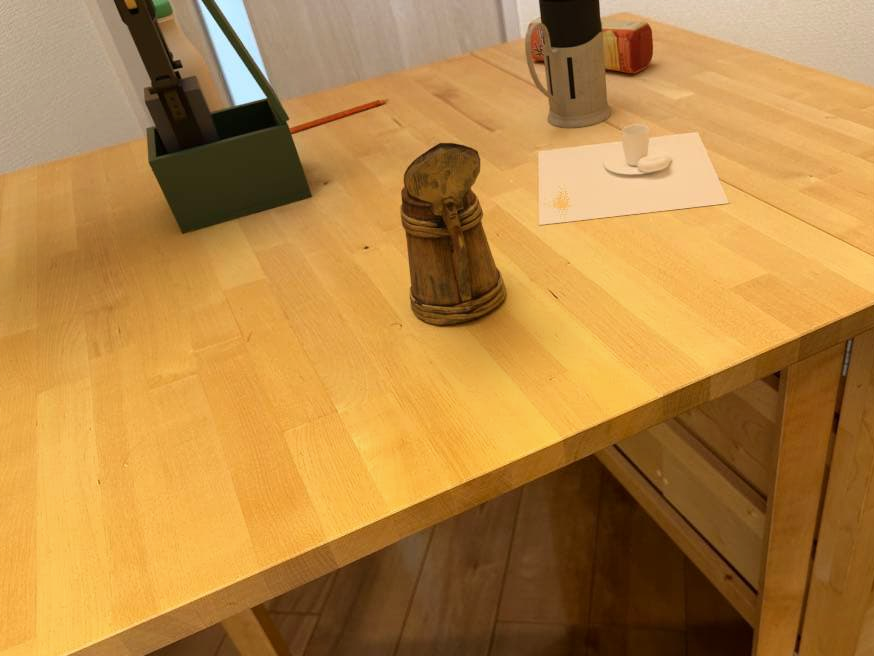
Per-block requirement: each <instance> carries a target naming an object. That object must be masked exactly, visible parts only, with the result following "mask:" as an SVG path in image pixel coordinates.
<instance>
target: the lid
mask: <svg viewBox="0 0 874 656" xmlns="http://www.w3.org/2000/svg"><path fill="white" fill-rule="evenodd" d="M200 1H201V2H202V4H203V5H204V7H205V8H206V10H207V11H208V12H209V14H210V16H211V17H212V18H213V20H214V21H215V23H216V25H217V26H218V27H219V29H220V30H221V32H222V33H223V35H224V36H225V39H227V41H228V42H229V44H230V46H231V47H232V48H233V49H234V51H235V53H236V55H238V57H239V58H240V60H241V61H242V63H243V64H244V66H245V68H246V69H247V70H248V72H249V73H250V75H251V76H252V78H253V79H254V81H255V83H256V84H257V85H258V87H259V88H260V89H261V91H262V93H263V94H264V96H265V98H268V100H269V101H270V103H271V104H272V106H273V107H274V109H275V110H276V112H277V113H278V115H279V116H280V118H281V119H282V121H283V122H288V121H290V117H289V115H288V113H287V112H286V109H285V107H284V106H283V104H282V103H281V100H280V99H279V97H278V95H277V93H276V91H275V90H274V88H273V87H272V85H271V84H270V81H268V79H267V77H266V76H265V75H264V73H263V72H262V70H261V69H260V67H259V66H258V64H257V62H256V61H255V59H254V58H253V56H252V55H251V53H250V52H249V51H248V49H247V47H246V46H245V44H244V42H243V41H242V40H241V38H240V37H239V35H238V34H237V32H236V31H235V29H234V28H233V26H232V25H231V23H230V21H228V20H229V19H227V17H226V16H225V14H224V13H223V11H222V9H220V6H219V5H218V4H217V2H216V1H215V0H200Z"/></svg>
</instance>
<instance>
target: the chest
mask: <svg viewBox="0 0 874 656" xmlns="http://www.w3.org/2000/svg"><path fill="white" fill-rule="evenodd" d="M211 114H212V117H213V119H214V122H215V124H216V127H217V131H218V134H219V138H220V140H219V141H215V142H211V143H207V144H204V145H200V146H196V147H192V148H188V149H185V150H181V151H177V152H173V153H169V154H168V152H167V150H166V148H165V146H164V143H163V141H162V139H161V137H160V135H159V132H158V130H157V128H156V126H155V125H153V126H150V127H146V129H145V131H146V144H147V160H148V164H149V166H150V168H151V171H152V173H153V175H154V177H155V179H156V181H157V183H158V186H159V188H160V189H161V192H162V194H163V196H164V198H165V200H166V202H167V204H168V207H169V209H170V211H171V214H172V215H173V217H174V220H175V222H176V223H177V226H178V229H179V230H180V232H181V234H186V233H189V232H192V231H193V232H194V231H196V230H200V229H203V228H206V227H210V226H213V225H217V224H221V223H224V222H227V221H231V220H234V219H238V218H241V217H245V216H249V215H252V214H256V213H259V212H263V211H266V210H269V209H273V208H277V207H281V206H283V205H287V204H291V203H294V202H298V201H301V200H305V199H308V198H311V197H313V195H312V191H311V188H310V186H309V183H308V180H307V177H306V174H305V171H304V168H303V165H302V162H301V159H300V156H299V153H298V150H297V147H296V144H295V141H294V138H293V135H292V134H291V132H290V129H289V128H290V126H289V123H288V121H286V122H283V121H282V119H281V118H280V116H279V115H278V113H277V112H276V110H275V109H274V107H273V106H272V104H271V103H270V101H269V100H268V98H267V97H265V98H261V99H257V100H254V101H248V102H246V103H241V104H237V105H234V106H229V107H225V108H224V109H221V110H217V111H213V112H211Z"/></svg>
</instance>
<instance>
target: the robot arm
mask: <svg viewBox="0 0 874 656" xmlns="http://www.w3.org/2000/svg"><path fill="white" fill-rule="evenodd" d="M113 3H114V5H115V7H116V10H117V12H118V15H119V18H120V19H121V22H122V23H123V24H124V25H126V26H127V29H128V31H129V34H130V36H131V38H132V40H133V43H134V45H135V47H136V49H137V52H138V54H139V56H140V60H141V61H142V63H143V66H144V68H145V70H146V73H147V75H148V78H149V77H150V78H149V81H150V80H151V81H150V86H152V88H148V90H149V92H150V94H151V95H152V94H156V93H157V95H158V97H159V99H160V101H161V104H162V106H163V108H164V110H165V113H166V115H167V117H168V120H169V122H170V124H171V126H172V129H173V131H174V133H175V136H176V138H177V140H178V142H179V145H180V147H181V149H182V150H184V149H188V148H191V147H195V146H199V145H203V144H205V141H204V138H203V136H202V133H201V131H200V129H199V126H198V124H197V121H196V119H195V117H194V114H193V112H192V109H191V107H190V105H189V102H188V100H187V97H186V95H185V93H184V90H183V88H182V85H180V82H179V79H182V78H181V76H180V73H179V71H175V72H174V70H176V69H180V68H183V66H182V63H181V61H180V60H176V61H173V54H172V52H170V50H169V48H168V45H167V43H166V40H165V38H164V36H163V33H162V31H161V28H160V26H159V24H158V21H157V15H156V9H155V6H154V3H153V1H152V0H113Z"/></svg>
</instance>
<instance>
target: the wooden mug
mask: <svg viewBox="0 0 874 656" xmlns="http://www.w3.org/2000/svg"><path fill="white" fill-rule="evenodd" d="M480 173H481V157H480V154H479V152H478V150H476V149H475V148H473V147H470V146H467V145H464V144H459V143H455V142H439V143H437V144H435V145H434V146H432V147H430V148H429V149H428V150H426V151H425V152H423V153H422V154H420V155H419V156H418V157H416V158H415V159H414V160H413V161H412V162H411V163H410V164H409V165H408V166H407V167H406V170H405V172H404V175H403V185H404V186H403V187H402V189H401V191H400V195H401V204H400V208H399V210H400V220H401V226H402V228H403V229H404V232H405V239H406V247H407V257H408V259H407V260H408V268H409V278H410V287H409V302H410V309H411V310H412V313H413V314H414V315H415V316H416V317H417V318H419V319H421V320H422V321H424V322H425V323H429V324H433V325H458V324H464V323H467V322H470V321H475V320H478V319H480V318H482V317H485V316H487V315H488V314H490V313H492V312H493V311H494V310H496V309H497V308H498V307H499V306H500V305H501V304H502V303H503V302H504V300H505V298H506V293H507V288H506V284H505V281H504V278H503V275H502V273H501V271H500V269H499V268H498V267H497V265H496V262H495V260H494V256H493V254H492V253H493V252H492V250H491V247H490V244H489V241H488V237H487V235H486V233H485V232H486V231H485V229H484V226H483V222H482V220H483V217H484V211H483V208H482V205H481V202H480V200H479V197H478V195H477V194H476V193H475V192H474V191H473V190H472V187H473V186H474V185H475V183H476V181H477V178H478V176H479V174H480Z"/></svg>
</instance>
